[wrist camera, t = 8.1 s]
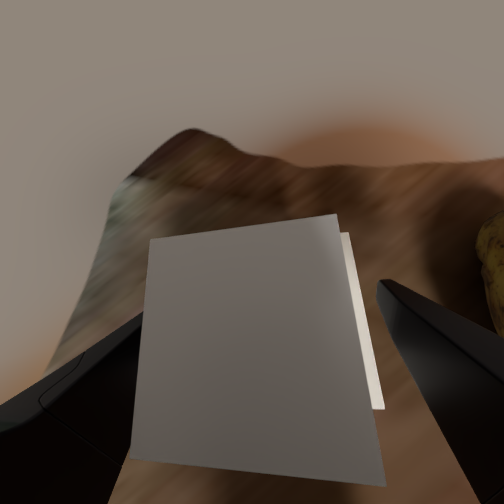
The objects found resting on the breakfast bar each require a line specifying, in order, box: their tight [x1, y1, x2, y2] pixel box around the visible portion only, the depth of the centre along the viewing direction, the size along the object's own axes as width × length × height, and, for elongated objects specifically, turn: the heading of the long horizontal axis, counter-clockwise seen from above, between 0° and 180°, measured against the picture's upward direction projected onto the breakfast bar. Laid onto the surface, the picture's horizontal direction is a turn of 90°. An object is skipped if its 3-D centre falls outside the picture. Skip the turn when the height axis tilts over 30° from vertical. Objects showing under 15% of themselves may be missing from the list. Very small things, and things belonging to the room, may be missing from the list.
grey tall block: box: [129, 214, 387, 487], centre depth 10 cm, size 5×5×12 cm
